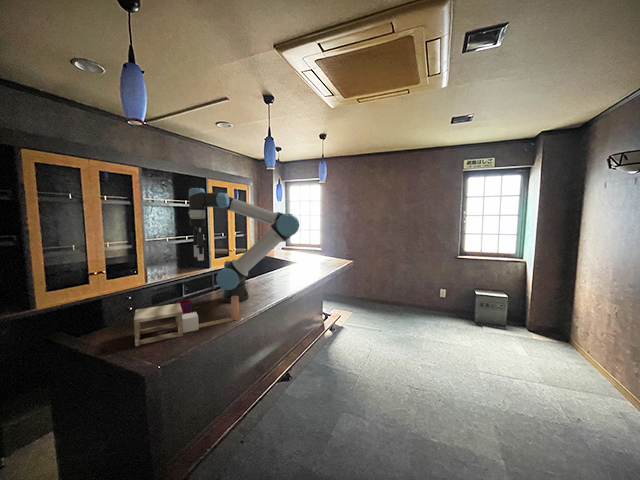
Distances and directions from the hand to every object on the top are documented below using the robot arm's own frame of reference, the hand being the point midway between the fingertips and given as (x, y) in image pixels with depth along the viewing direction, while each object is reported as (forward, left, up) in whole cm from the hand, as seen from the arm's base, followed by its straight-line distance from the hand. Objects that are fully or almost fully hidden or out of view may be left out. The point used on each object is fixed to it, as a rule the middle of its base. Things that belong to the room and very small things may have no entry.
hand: (198, 258), depth 135 cm
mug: (+10, +8, -27) cm, 30 cm away
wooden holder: (+19, +26, -27) cm, 42 cm away
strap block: (-1, +26, -27) cm, 37 cm away
